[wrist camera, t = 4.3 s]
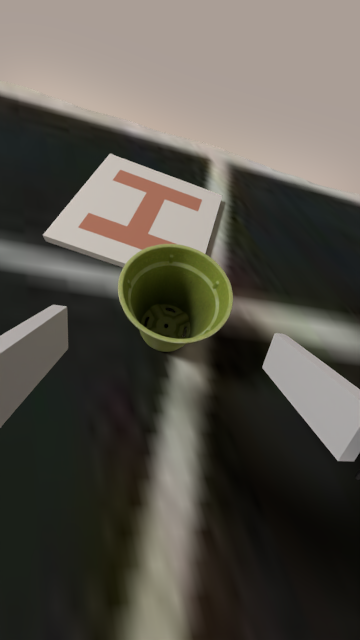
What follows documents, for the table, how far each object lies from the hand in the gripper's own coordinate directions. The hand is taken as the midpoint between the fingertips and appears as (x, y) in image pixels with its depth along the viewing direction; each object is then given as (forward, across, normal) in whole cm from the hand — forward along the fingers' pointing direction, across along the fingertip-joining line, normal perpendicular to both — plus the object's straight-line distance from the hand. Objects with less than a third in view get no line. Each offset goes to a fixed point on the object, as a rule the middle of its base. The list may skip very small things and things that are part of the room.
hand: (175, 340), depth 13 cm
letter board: (+23, +4, -9) cm, 25 cm away
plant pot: (+11, 0, +4) cm, 12 cm away
